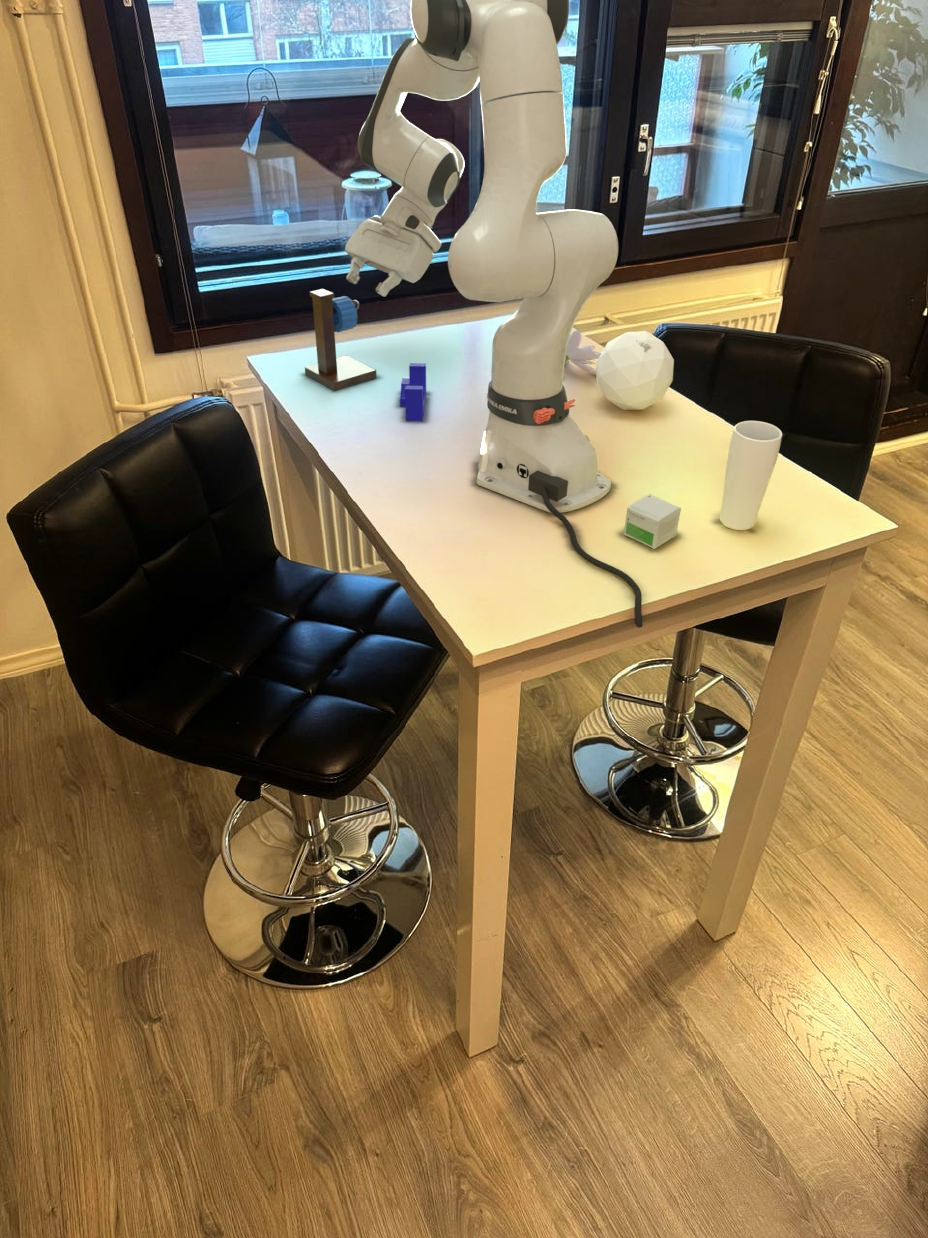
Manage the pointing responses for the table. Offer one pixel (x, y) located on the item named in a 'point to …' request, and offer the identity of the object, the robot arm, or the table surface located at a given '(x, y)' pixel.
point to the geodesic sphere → (635, 370)
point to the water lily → (580, 353)
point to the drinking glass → (748, 472)
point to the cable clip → (414, 392)
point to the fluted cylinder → (344, 314)
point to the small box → (652, 521)
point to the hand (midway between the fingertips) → (364, 287)
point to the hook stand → (333, 349)
